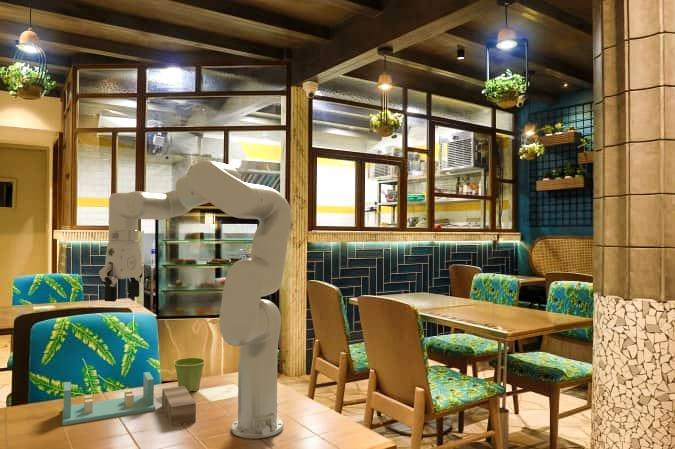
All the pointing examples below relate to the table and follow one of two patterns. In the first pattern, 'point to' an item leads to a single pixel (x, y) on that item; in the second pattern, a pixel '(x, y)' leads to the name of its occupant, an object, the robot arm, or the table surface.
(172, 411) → the brown wooden block
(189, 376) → the plant pot
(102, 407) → the peg stand
